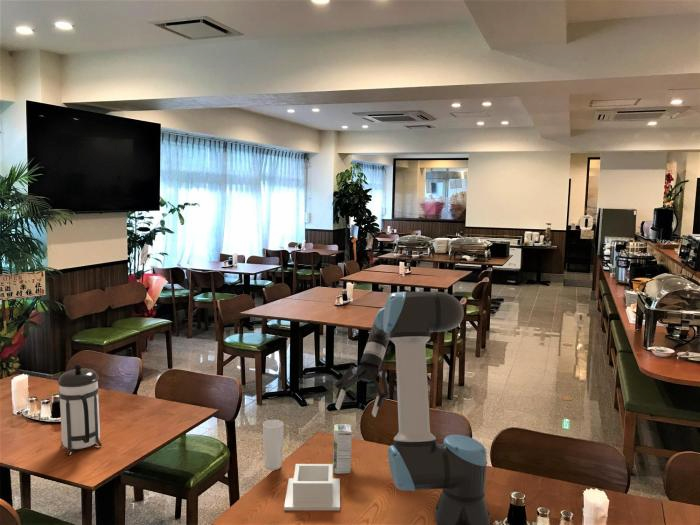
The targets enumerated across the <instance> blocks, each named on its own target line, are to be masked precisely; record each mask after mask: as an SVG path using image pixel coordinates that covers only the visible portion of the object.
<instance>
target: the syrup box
mask: <svg viewBox="0 0 700 525" xmlns="http://www.w3.org/2000/svg"><path fill="white" fill-rule="evenodd" d="M333 427H334V428H333V449H332V450H333V452H332V464H333V475H334V474H337V475H339V474H351V473H352V472H351V470H352V469H351V468H352V440H353V438H352V437H353V435H352V434H353V431H352V430H353V429H352V425H351V424H345V423H343V424H342V423H339V424H334V426H333Z"/></svg>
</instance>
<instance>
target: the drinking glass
mask: <svg viewBox="0 0 700 525" xmlns="http://www.w3.org/2000/svg"><path fill="white" fill-rule="evenodd" d="M284 429H285V428H284V422H283V421H281V420H278V419H270V420H265V421H264V422H263V424H262V441H263V442H262V444H263V451H264V452H263V453H264V466H265V469H266V470H270V471H276V470H279V469H280V468H281V467H282V456H283V445H284V444H283V443H284V433H285V432H284Z"/></svg>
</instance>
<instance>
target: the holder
mask: <svg viewBox="0 0 700 525" xmlns="http://www.w3.org/2000/svg"><path fill="white" fill-rule="evenodd" d="M294 468H295V469H294V473H293V477H291V478H290V477H289V478H288V481H287V482H288V483H287V487H286V492H285V494H286V495H285V500H284V507H283V511H341V489H340V488H341V483H340V482H341V479H340V478H335V477H333V475H334V473H333V463H295V466H294Z"/></svg>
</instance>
